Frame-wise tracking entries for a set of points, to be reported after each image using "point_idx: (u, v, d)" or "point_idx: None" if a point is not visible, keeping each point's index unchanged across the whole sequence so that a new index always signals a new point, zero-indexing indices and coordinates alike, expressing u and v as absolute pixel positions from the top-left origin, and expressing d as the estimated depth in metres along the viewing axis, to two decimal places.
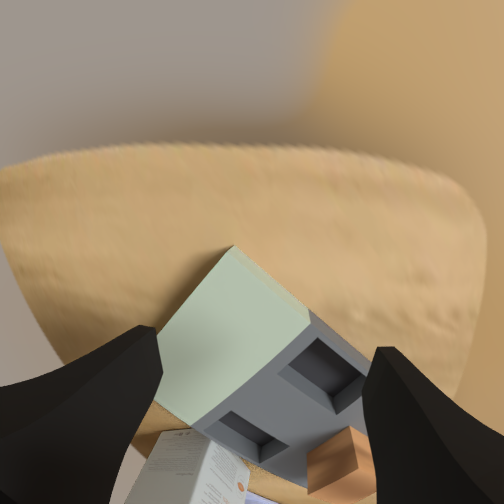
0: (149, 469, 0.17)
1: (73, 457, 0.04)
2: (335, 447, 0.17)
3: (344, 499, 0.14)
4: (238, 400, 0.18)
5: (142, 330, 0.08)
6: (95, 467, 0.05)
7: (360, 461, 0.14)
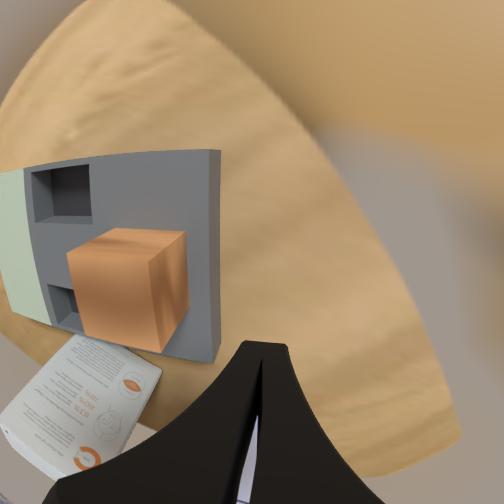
0: None
1: None
2: None
3: (130, 330, 0.12)
4: (41, 269, 0.17)
5: (254, 345, 0.08)
6: None
7: (82, 248, 0.12)
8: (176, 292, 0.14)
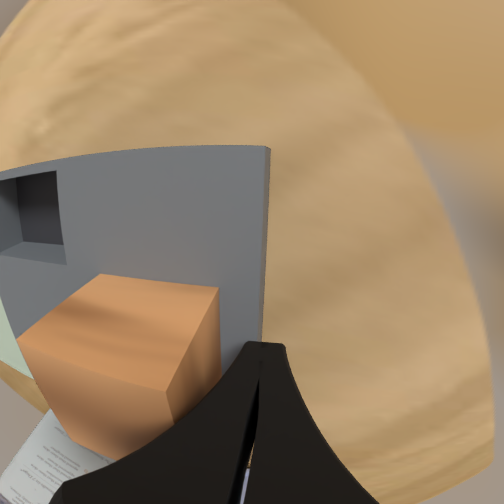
0: None
1: None
2: None
3: None
4: (11, 314, 0.11)
5: (257, 345, 0.08)
6: None
7: (43, 327, 0.06)
8: (208, 389, 0.08)
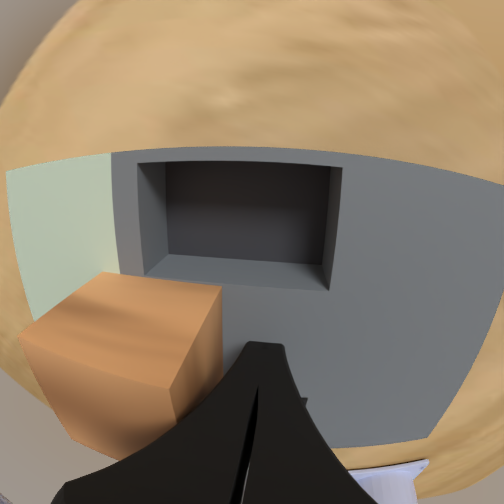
0: None
1: None
2: None
3: None
4: None
5: (258, 346, 0.08)
6: None
7: (44, 324, 0.06)
8: (210, 388, 0.08)
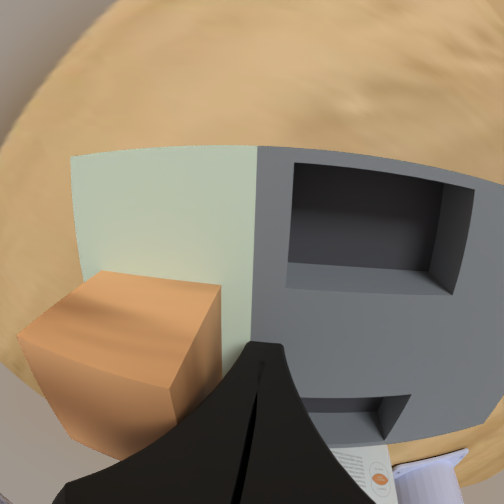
0: None
1: None
2: None
3: None
4: None
5: (259, 346, 0.08)
6: None
7: (44, 324, 0.06)
8: (209, 387, 0.08)
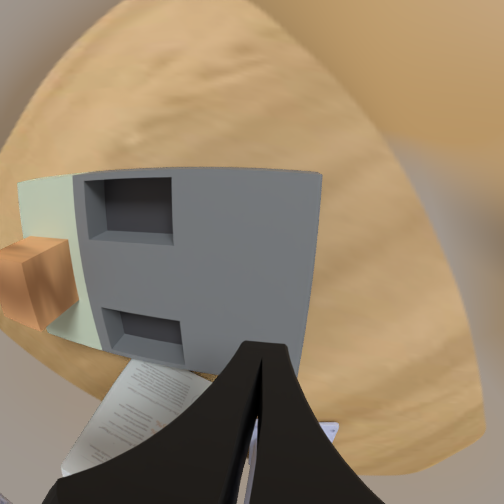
0: None
1: None
2: None
3: (23, 313, 0.13)
4: (94, 291, 0.17)
5: (254, 345, 0.08)
6: None
7: None
8: (58, 287, 0.15)
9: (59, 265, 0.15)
